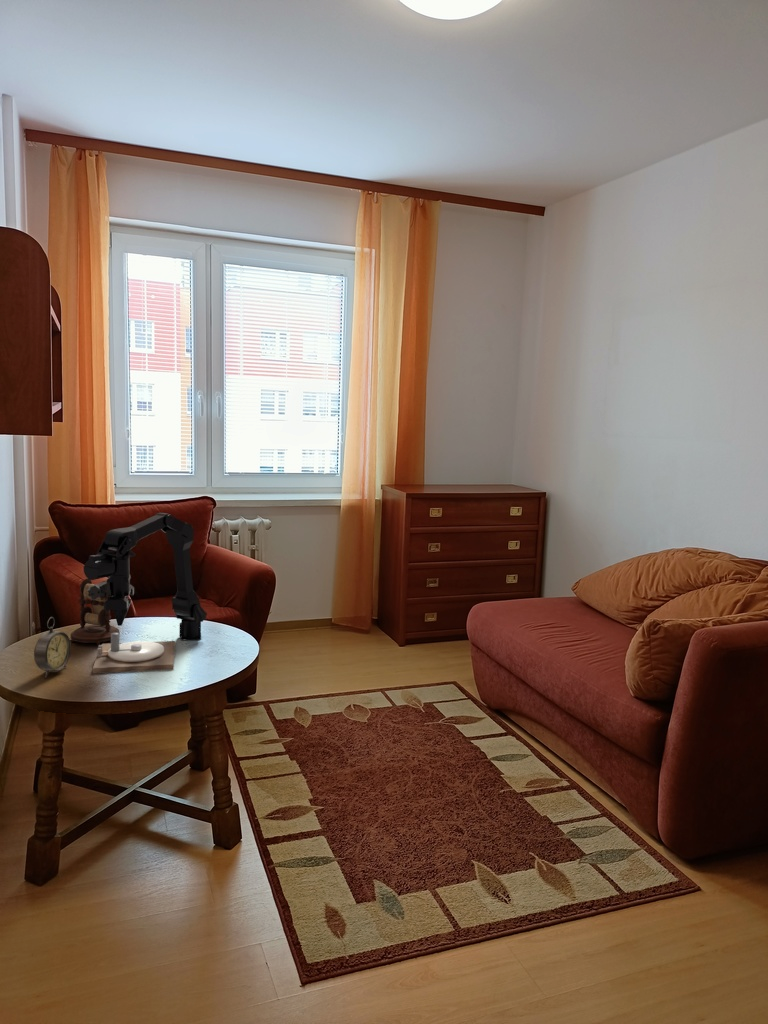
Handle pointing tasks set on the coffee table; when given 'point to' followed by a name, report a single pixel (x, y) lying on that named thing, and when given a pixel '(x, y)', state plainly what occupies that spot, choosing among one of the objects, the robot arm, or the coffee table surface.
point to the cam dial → (133, 650)
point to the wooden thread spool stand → (93, 618)
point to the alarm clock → (52, 650)
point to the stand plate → (110, 665)
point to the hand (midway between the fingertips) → (119, 625)
